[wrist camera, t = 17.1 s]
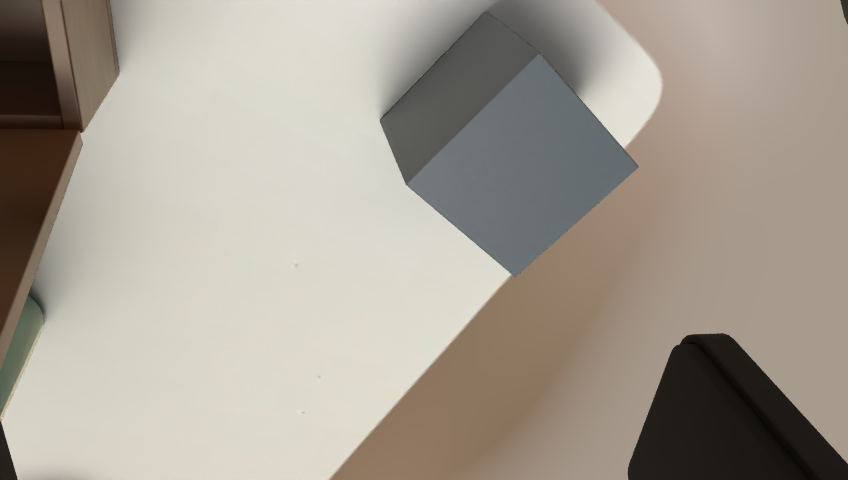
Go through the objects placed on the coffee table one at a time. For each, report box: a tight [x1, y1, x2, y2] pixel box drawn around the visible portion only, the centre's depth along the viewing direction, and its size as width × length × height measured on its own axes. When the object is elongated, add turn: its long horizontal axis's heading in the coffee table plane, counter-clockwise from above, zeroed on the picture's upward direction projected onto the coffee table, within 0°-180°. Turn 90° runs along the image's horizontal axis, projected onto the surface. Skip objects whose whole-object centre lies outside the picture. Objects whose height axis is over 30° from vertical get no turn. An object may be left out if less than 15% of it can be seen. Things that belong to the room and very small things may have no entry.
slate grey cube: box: [380, 12, 638, 277], centre depth 34 cm, size 8×8×8 cm
